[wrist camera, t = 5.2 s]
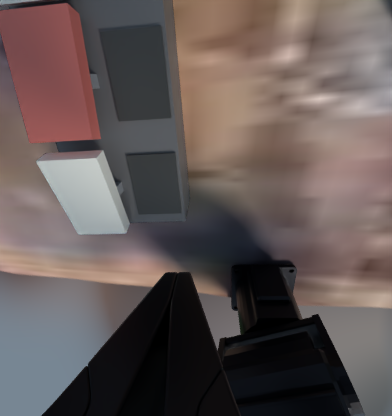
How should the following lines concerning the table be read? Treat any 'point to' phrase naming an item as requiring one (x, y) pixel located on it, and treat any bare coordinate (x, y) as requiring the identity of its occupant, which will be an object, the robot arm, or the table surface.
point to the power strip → (136, 103)
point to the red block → (50, 72)
